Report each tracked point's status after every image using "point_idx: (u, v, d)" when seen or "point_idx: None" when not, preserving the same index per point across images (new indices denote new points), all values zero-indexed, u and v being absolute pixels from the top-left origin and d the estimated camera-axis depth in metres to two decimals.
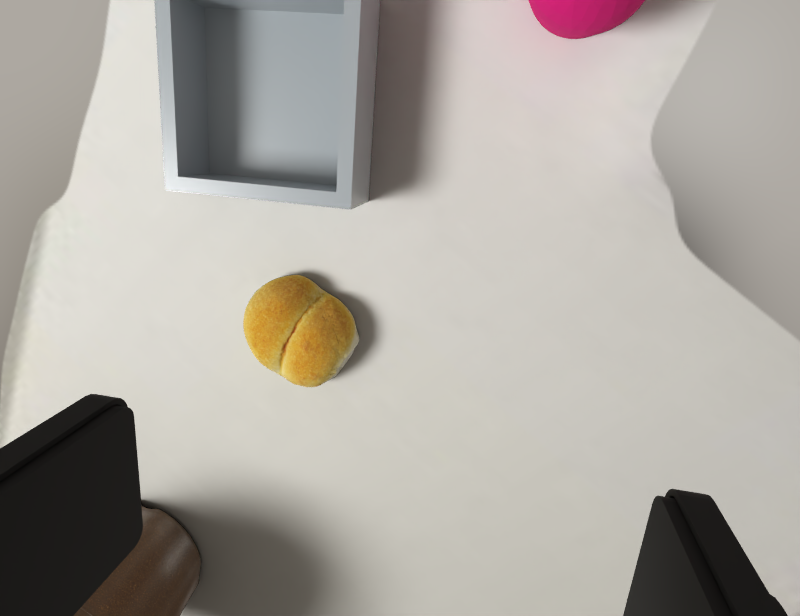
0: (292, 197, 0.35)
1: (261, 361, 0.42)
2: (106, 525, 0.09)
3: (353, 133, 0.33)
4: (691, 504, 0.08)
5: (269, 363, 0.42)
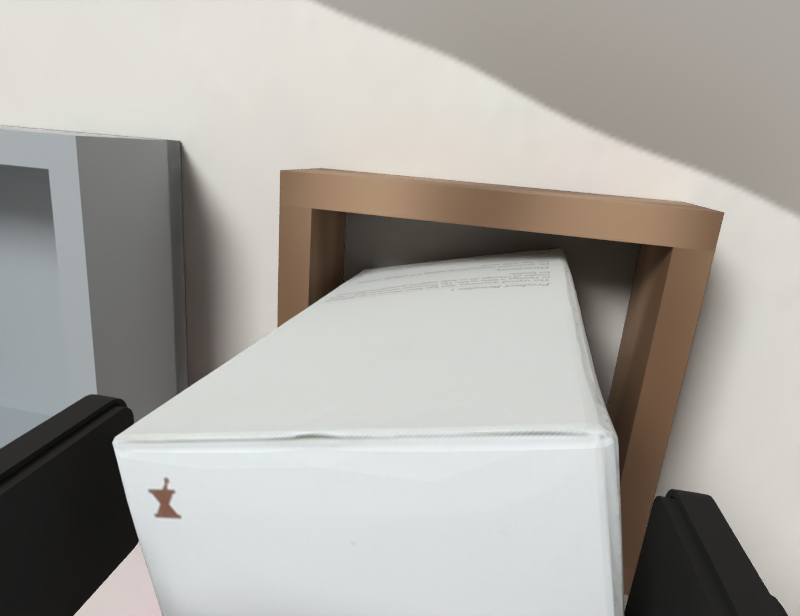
0: None
1: None
2: (106, 525, 0.09)
3: None
4: (692, 504, 0.08)
5: None
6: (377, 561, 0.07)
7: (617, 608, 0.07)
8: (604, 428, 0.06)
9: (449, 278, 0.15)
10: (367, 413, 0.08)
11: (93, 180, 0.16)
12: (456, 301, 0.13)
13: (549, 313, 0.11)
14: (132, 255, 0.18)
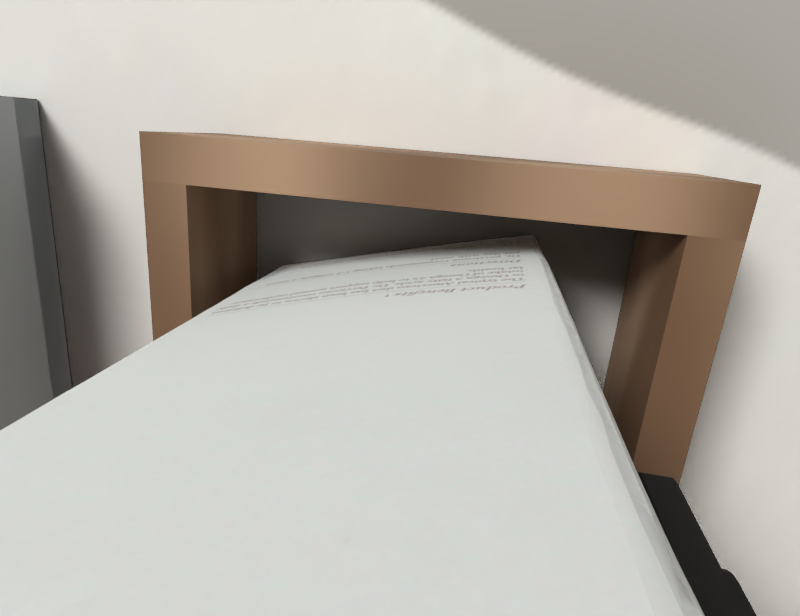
0: None
1: None
2: None
3: None
4: (655, 486, 0.08)
5: None
6: None
7: None
8: None
9: (385, 278, 0.11)
10: (152, 615, 0.03)
11: None
12: (389, 315, 0.08)
13: (532, 337, 0.07)
14: None
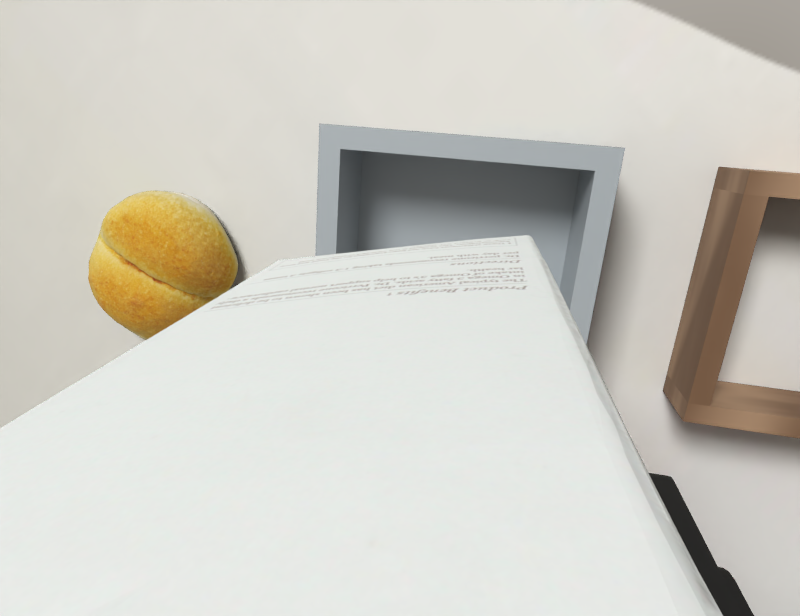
0: None
1: (107, 221, 0.30)
2: None
3: None
4: None
5: (106, 234, 0.30)
6: None
7: None
8: None
9: (386, 275, 0.11)
10: None
11: None
12: (393, 314, 0.08)
13: (538, 339, 0.07)
14: None
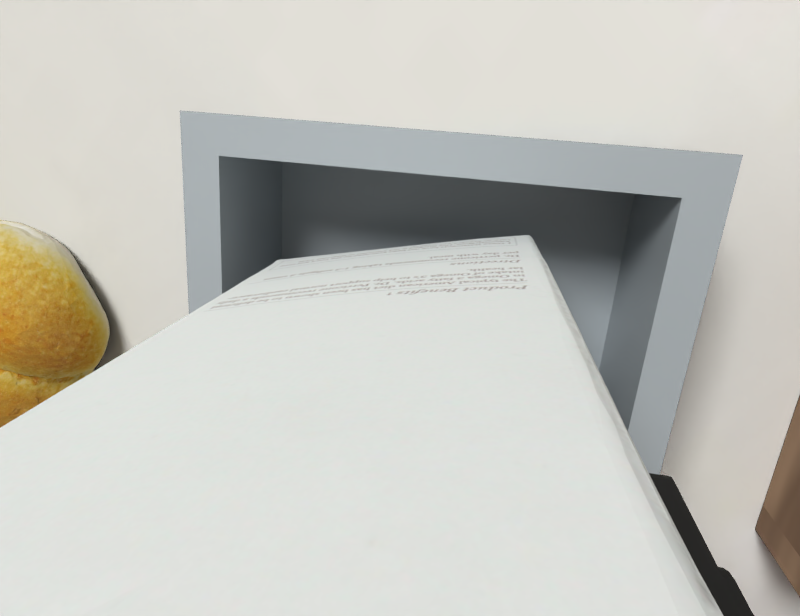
0: None
1: None
2: None
3: None
4: None
5: None
6: None
7: None
8: None
9: (386, 275, 0.11)
10: (180, 615, 0.03)
11: None
12: (393, 314, 0.08)
13: (538, 339, 0.07)
14: None
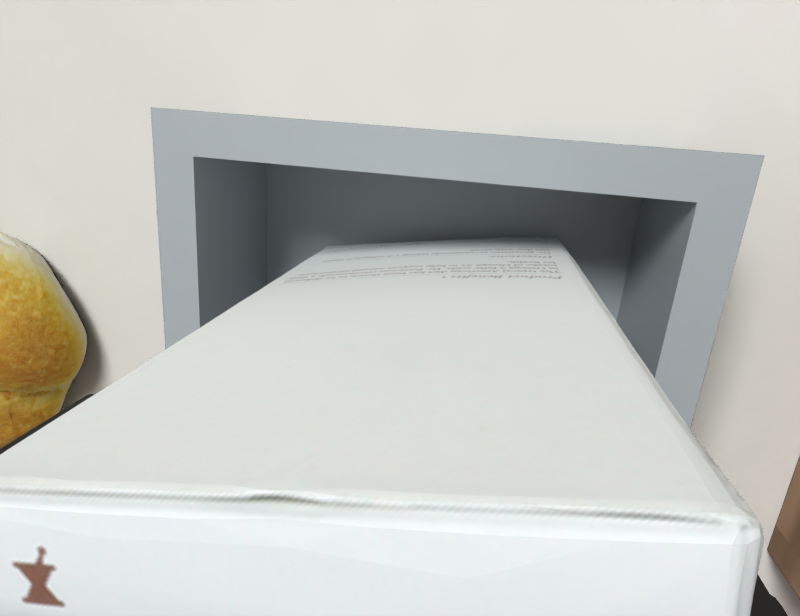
0: None
1: None
2: None
3: None
4: None
5: None
6: None
7: None
8: (746, 513, 0.04)
9: (435, 262, 0.13)
10: (363, 461, 0.05)
11: None
12: (453, 292, 0.10)
13: (578, 314, 0.09)
14: None
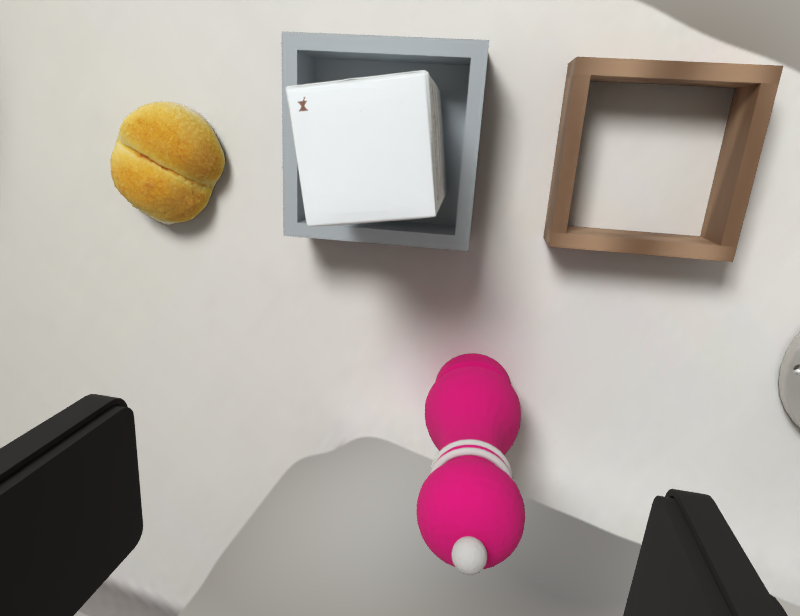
0: (288, 178, 0.37)
1: (124, 124, 0.40)
2: (106, 525, 0.09)
3: (348, 240, 0.38)
4: (691, 504, 0.08)
5: (124, 135, 0.40)
6: (367, 116, 0.27)
7: (429, 123, 0.27)
8: None
9: None
10: None
11: None
12: None
13: None
14: None
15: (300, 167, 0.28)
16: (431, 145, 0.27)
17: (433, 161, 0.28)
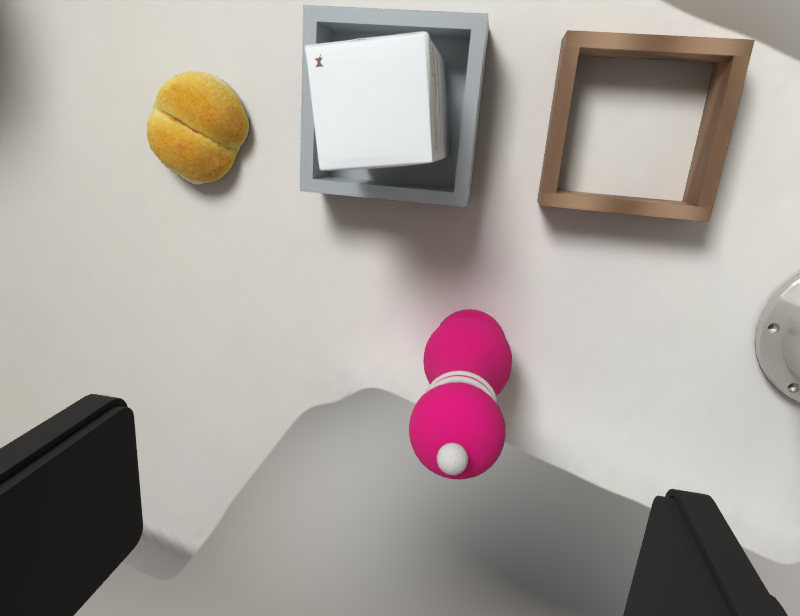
0: (305, 138, 0.41)
1: (161, 91, 0.45)
2: (106, 525, 0.09)
3: (357, 195, 0.42)
4: (691, 504, 0.08)
5: (160, 101, 0.45)
6: (374, 71, 0.31)
7: (428, 78, 0.31)
8: None
9: None
10: None
11: (485, 35, 0.37)
12: None
13: None
14: (481, 77, 0.40)
15: (315, 117, 0.32)
16: (430, 98, 0.31)
17: (431, 112, 0.31)
